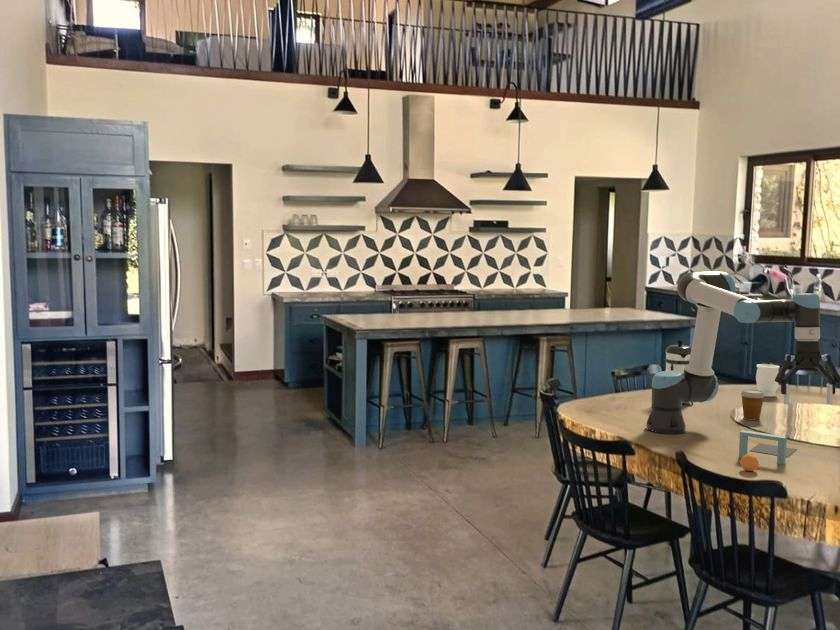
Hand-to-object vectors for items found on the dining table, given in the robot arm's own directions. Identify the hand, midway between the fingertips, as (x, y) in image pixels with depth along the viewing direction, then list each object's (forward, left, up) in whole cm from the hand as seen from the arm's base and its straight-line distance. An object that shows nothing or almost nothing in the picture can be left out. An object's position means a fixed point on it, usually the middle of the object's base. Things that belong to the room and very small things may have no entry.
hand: (808, 404), depth 254 cm
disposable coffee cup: (-34, +66, -22) cm, 77 cm away
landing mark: (-14, +18, -22) cm, 31 cm away
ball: (-14, -14, -19) cm, 28 cm away
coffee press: (-71, +79, -22) cm, 108 cm away
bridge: (-14, +2, -22) cm, 26 cm away
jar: (-42, +124, -22) cm, 132 cm away
